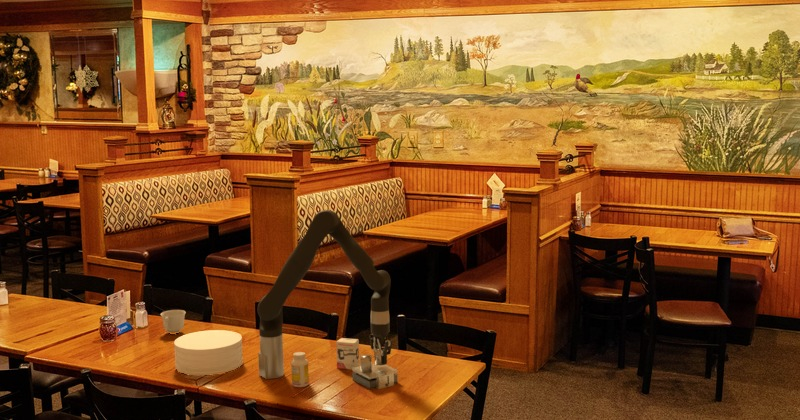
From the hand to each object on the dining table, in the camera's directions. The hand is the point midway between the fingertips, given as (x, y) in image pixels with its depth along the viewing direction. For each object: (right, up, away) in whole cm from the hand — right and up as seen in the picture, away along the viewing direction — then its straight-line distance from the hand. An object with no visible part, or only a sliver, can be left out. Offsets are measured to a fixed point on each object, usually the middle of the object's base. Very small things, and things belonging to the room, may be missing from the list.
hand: (380, 362), depth 337 cm
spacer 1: (-6, -3, -4) cm, 7 cm away
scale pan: (-2, -4, -1) cm, 5 cm away
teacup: (-102, +1, +69) cm, 123 cm away
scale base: (-2, -8, -2) cm, 8 cm away
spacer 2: (0, -1, 0) cm, 0 cm away
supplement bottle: (-32, -9, -3) cm, 33 cm away
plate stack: (-74, -6, +23) cm, 77 cm away
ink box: (-14, -5, +17) cm, 22 cm away
